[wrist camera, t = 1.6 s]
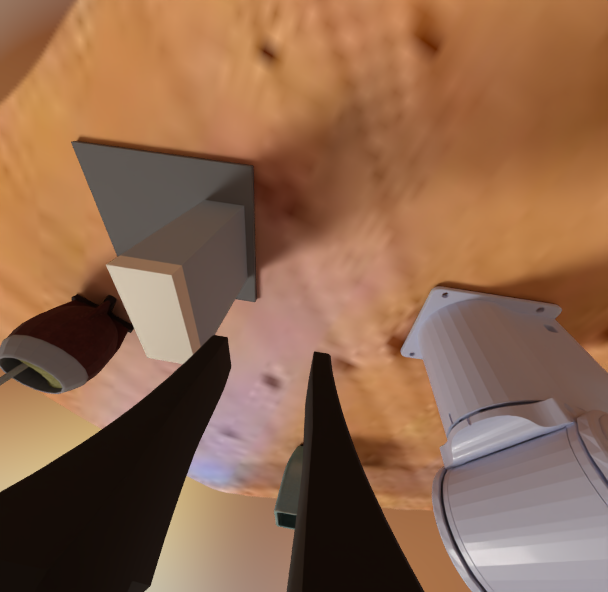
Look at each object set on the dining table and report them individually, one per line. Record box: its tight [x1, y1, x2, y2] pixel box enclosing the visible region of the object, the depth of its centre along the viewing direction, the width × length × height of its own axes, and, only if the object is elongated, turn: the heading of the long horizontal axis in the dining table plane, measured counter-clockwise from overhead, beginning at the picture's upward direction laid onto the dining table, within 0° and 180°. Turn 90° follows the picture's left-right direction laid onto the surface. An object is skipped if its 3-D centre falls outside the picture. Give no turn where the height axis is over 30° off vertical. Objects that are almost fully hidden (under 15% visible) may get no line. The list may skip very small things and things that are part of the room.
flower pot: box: [274, 446, 303, 529], centre depth 37 cm, size 9×9×9 cm
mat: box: [71, 141, 256, 302], centre depth 19 cm, size 12×11×1 cm
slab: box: [106, 200, 248, 364], centre depth 16 cm, size 3×6×9 cm, turn 175°
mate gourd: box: [0, 294, 134, 394], centre depth 21 cm, size 8×8×15 cm
